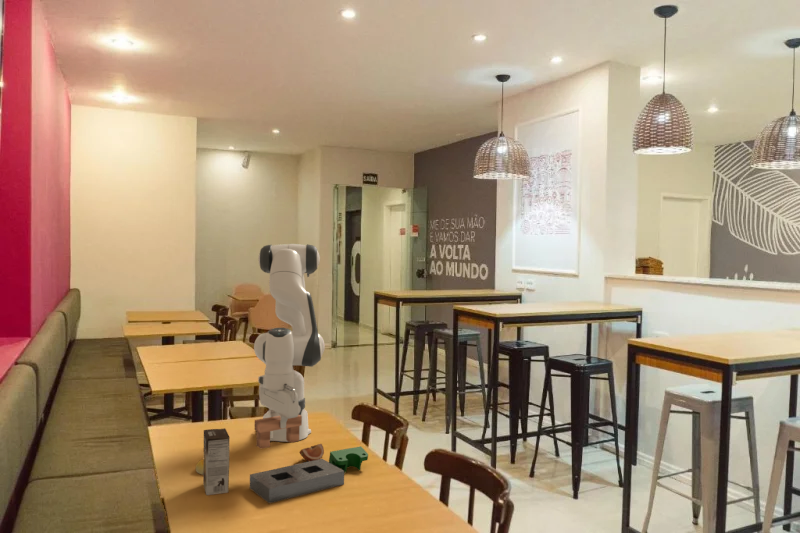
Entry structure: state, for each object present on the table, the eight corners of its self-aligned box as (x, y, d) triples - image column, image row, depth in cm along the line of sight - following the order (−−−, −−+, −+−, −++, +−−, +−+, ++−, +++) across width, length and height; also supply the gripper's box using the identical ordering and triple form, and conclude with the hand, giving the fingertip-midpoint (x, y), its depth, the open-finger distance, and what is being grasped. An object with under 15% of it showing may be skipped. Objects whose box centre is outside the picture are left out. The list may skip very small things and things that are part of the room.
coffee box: (202, 484, 177) (203, 429, 176) (225, 481, 179) (225, 427, 179) (205, 495, 168) (206, 438, 168) (229, 492, 171) (230, 436, 171)
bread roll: (197, 467, 191) (197, 454, 191) (226, 466, 193) (227, 453, 193) (193, 476, 183) (193, 463, 183) (223, 475, 185) (224, 462, 185)
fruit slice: (306, 466, 193) (307, 451, 193) (294, 461, 198) (294, 446, 198) (327, 460, 199) (327, 445, 199) (315, 455, 204) (315, 440, 204)
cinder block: (249, 488, 174) (249, 474, 174) (321, 471, 189) (322, 458, 189) (269, 503, 164) (269, 488, 164) (344, 484, 179) (344, 470, 179)
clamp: (340, 486, 189) (333, 464, 185) (332, 475, 193) (325, 454, 190) (373, 466, 193) (366, 445, 190) (364, 457, 198) (358, 435, 194)
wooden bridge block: (254, 445, 184) (254, 420, 184) (295, 437, 193) (295, 412, 193) (259, 449, 181) (260, 423, 181) (301, 440, 190) (301, 415, 190)
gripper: (304, 386, 180) (303, 432, 181) (274, 374, 196) (273, 415, 197) (285, 389, 176) (284, 436, 177) (255, 376, 192) (255, 419, 193)
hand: (278, 425), depth 187 cm, fingers closed on wooden bridge block, 4 cm apart
